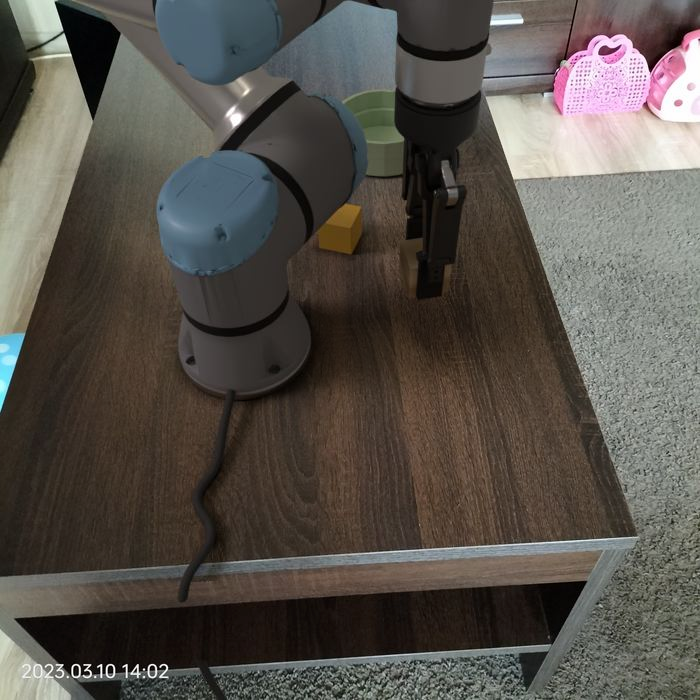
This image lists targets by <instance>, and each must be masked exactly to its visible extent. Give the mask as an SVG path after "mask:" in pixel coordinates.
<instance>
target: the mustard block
mask: <svg viewBox="0 0 700 700" xmlns="http://www.w3.org/2000/svg"><path fill="white" fill-rule="evenodd" d="M362 208H363V207H362V206H360V205H355V204H351V203H346V204H344V205H343V207H341V208H340V209H338V210H337V211H336V212H335V213H334V214H333V215H332V216H331V217H330V218H329V220H328V221H327V222H326V223H325V224H324V225H323V226H322V227H321V228H320V229H319V230H318V231H317V233H318V235H317V236H318V246H319V249H323V250H328V251H332V252H337V253H342V254H346V255H350V256H351V255H353V253H354V250H355V249H356V247H357V245H358V242H359V240H360V238H361V237H362V235H363V209H362Z"/></svg>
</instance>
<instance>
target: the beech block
mask: <svg viewBox="0 0 700 700" xmlns="http://www.w3.org/2000/svg"><path fill="white" fill-rule="evenodd" d="M421 250H423V238H416V239H410V240H406V239H405V240H400V241H399V264H398V272H399V275H400V278H401V281H402V283H403V286H404V289H405V292H406V295H407V298H408V299H413V298H417V297H416V288H417V275H418V261H417V259H416V252H419V251H421ZM451 270H452V264H450V265H445V271H444V280H443V289H442V294H445V293H448V292H449V288H450V280H451V278H450V277H451V272H452V271H451Z"/></svg>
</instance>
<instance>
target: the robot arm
mask: <svg viewBox="0 0 700 700" xmlns="http://www.w3.org/2000/svg"><path fill="white" fill-rule="evenodd" d="M71 1H72V2H74V3H77V4H80V5H82V6H85V7H88V8H91V9H93V10H96V11H99V12H101V14H103V15H104V17H105V18H106V19H107V20H108V21H109V22H110V23H111V24H112V25H113V26H114V27H115V28H116V29H117V31H118V32H120V34H121V35H122V36H123V37H124V38H125V39H126V40H127V41H128V43H130V44H131V45H132V47H133V48H134V49H135V50H136V51H137V52H138V53H139V54H140V55H141V57H142V58H143V59H144V60H145V61H146V62H147V63H148V64H149V65H150V66H151V67H152V68H153V70H155V71H156V73H157V74H158V75H160V77H161V78H162V79H163V80H164V81H165V83H167V85H169V86H170V87H171V89H172V90H173V91H174V92H175V93H176V94H177V95H178V96H179V97H180V98H181V99H182V100H183V101H184V103H185V104H186V105H187V106H188V107H189V108H190V109H191V110H192V111H193V112H194V113H195V114H196V115H197V117H198V118H199V119H200V120H201V121H202V122H203V123H204V124H205V125H206V126H207V127H208V129H210V130H211V132H212V134H213V139H214V145H213V146H214V147H213V148H214V149H213V151H212V152H211V154H210V156H209V157H204V156H203V155H199V156H196V157H194V158H192V159H190V160H189V161H186V162H184V164H182V165H181V166H179V167H178V168H177V169H175V171H173V173H172V174H170V176H168V178H167V179H166V180H165V182H164V184H163V186H162V187H161V190H160V191H159V194H158V197H157V201H156V219H157V223H158V229H159V232H158V233H159V240H160V244H161V245H160V246H161V248H162V251H163V253H164V255H165V256H166V258H167V261H168V264H169V267H170V271H171V275H172V278H173V281H174V285H175V288H176V292H177V296H178V298H179V303H180V305H181V309H182V315H181V321H180V328H179V334H178V340H177V348H178V349H177V350H178V357H179V360H180V363H181V366H182V369H183V372H184V374H185V376H186V377H187V379H188V380H189V381H190V382H191V384H192V385H194V386H195V387H196V388H198V389H199V390H200V391H202V392H204V393H206V394H207V395H210V396H212V397H215V398H220V399H224V404H223V408H222V411H221V416H220V422H219V426H218V431H217V438H216V442H215V443H216V444H215V449H214V452H213V453H214V454H213V458H212V460H211V463H210V466H209V468H208V470H207V472H206V473H205V474H204V475H203V476H202V477H201V479H200V480H199V481H198V483H197V484H196V486H195V488H194V489H193V493H192V496H191V497H192V499H191V500H192V501H191V503H192V506H193V511H194V512H195V513H196V515H197V516H198V518H199V519H200V520H201V522H202V523H203V525H204V527H205V539H204V542H203V545H202V546H201V548H200V550H198V552H197V553H196V555H195V556H194V558H193V559H191V561H190V562H189V564H188V566H187V568H186V569H185V571H184V573H183V574H182V575H183V576H182V578H181V579H180V583H179V588H178V594H177V601H178V603H181V604H183V603H185V602H186V601H188V598H189V591H190V586H191V584H192V580H193V579H194V576H195V574H196V573H197V572H198V569H199V568H200V567H201V565H202V564H203V563H204V562H205V560H206V559H207V558H208V556H209V555H210V553H211V551H212V549H213V547H214V544H215V541H216V537H217V529H216V528H217V527H216V524H215V521H214V520H213V517H211V515H210V514H209V512H208V511H207V509H206V508H205V506H204V504H203V494H204V492H205V489H206V488H207V487H208V486H209V484H210V483H211V482H212V480H213V479H214V478H215V476H216V475H217V473H218V472H219V469H220V467H221V464H222V461H223V457H224V452H225V448H226V442H227V434H228V429H229V424H230V419H231V415H232V411H233V405H234V401H245V400H247V401H248V400H253V399H259V398H264V397H266V396H269V395H271V394H274V393H276V392H278V391H280V390H282V389H283V388H285V387H287V386H289V384H291V383H292V382H293V381H294V380H296V378H297V377H298V376H299V375H300V374H301V373H302V372H303V370H304V369H305V367H306V365H307V363H308V361H309V359H310V355H311V351H312V336H311V335H312V334H311V328H310V326H309V323H308V319H307V318H306V315H305V314H304V312H303V310H302V309H301V307H300V306H299V304H298V303H297V301H296V299H295V298H294V296H293V295H292V293H291V292H290V288H289V287H290V286H289V280H288V279H289V278H288V271H287V266H288V264H289V261H290V260H291V259H292V258H293V257H294V256H295V255H296V254H297V252H298V251H300V249H302V247H303V246H304V245H305V244H306V243H308V242H309V240H310V239H311V238H312V237H313V236H314V235H315V234H317V233H318V230H319V229H320V228H321V227H322V226H323V225H324V224H325V223H326V222H327V221H328V220H329V218H330V217H331V216H332V215H333V214H334V213H335V212H336V211H337V210H338V209H340V208H341V207H343V205H344V204H348V203H349V202H350V200H351V199H352V197H353V194H354V192H356V190H357V189H358V188H359V187H360V186H361V184H362V183H363V181H364V179H365V177H366V176H367V175H366V172H367V168H368V158H367V153H368V146H367V142H366V138H365V135H364V132H363V130H362V128H361V126H360V124H359V122H358V120H357V119H356V117H355V116H354V114H353V113H352V112H351V111H350V110H349V108H348V107H347V106H346V105H344V104H343V103H342V101H341V100H340V99H338V98H337V97H335V96H333V95H329V96H327V94H325V93H323V92H314V93H313V92H312V93H307V94H306V92H305V91H304V90H303V89H302V88H301V87H300V86H299V85H298V84H297V82H295V80H294V79H293V78H291V77H277V76H272V75H270V73H268V71H266V69H265V68H264V67H263V65H265V64H266V63H268V62H269V61H270V60H271V58H273V56H274V55H276V54H277V53H279V52H280V51H281V50H282V49H283V48H285V47H286V46H287V45H288V44H290V43H291V42H292V41H293V40H295V39H297V37H299V36H300V35H301V34H302V33H303V32H305V31H306V30H308V29H309V28H310V27H311V26H314V25H315V24H316V23H317V22H319V21H320V20H321V19H322V18H324V17H325V16H327V15H328V14H330V13H331V12H332V11H333V10H334V9H336V8H337V7H339V6H341V4H343V3H344V2H354V3H358V4H363V5H366V6H370V7H374V8H377V9H381V10H390V11H393V12H396V27H397V28H396V29H397V30H396V39H395V67H394V82H395V85H396V87H395V89H394V90H395V111H394V123H395V127H396V129H397V131H398V132H399V133H400V134H401V135H402V136H403V137H404V153H403V174H402V180H401V181H402V182H401V193H400V195H401V198H402V201H406V203H405V206H404V207H405V208H404V212H405V214H406V216H407V217H409V218H406V228H405V240H410V239H416V238H423V250H421V251H419V252H416V259H417V261H418V275H417V288H416V297H415V298H416V300H417V301H420V300H427V299H433V298H441V297H442V296H443V293H442V289H443V280H444V271H445V265H450V264H451V265H455V263H456V256H457V250H458V243H459V235H460V227H461V220H462V213H463V207H464V204H465V202H466V199H467V194H468V189H467V187H466V185H465V184H459V185H457V171H458V169H459V167H460V150H459V147H460V146H461V145H462V144H463V143H464V142H466V141H467V140H468V139H470V138H471V137H472V136H474V133H475V132H476V131H477V128H478V123H479V116H480V109H481V102H482V91H481V89H482V87H483V83H484V74H485V67H486V60H487V59H486V58H487V56H489V55H491V54H492V51H493V48H492V46H491V44H490V43H489V38H490V27H491V23H492V15H493V9H494V2H495V0H71ZM195 662H196V664H197V667H198V669H199V672H200V674H201V675H202V677H203V679H204V681H205V682H206V684H207V686H208V687H209V689H210V691H211V692H212V694H213V695H214V697H215V698H216V699H217V700H228V698H227V696H226V694H225V693H224V692H223V690H222V689H221V687H220V685H219V683H218V682H217V680H216V679H215V676H214V675H213V673H212V670H211V669H210V666H209V664H208V662H207V660H202V659H195Z"/></svg>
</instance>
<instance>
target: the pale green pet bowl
mask: <svg viewBox="0 0 700 700" xmlns="http://www.w3.org/2000/svg"><path fill="white" fill-rule="evenodd" d="M341 102H342V103H343V104H344V105H346V106H347V107H348V108H349V110H350V111H351V112H352V113H353V114H354V116H355V117H356V119H357V120H358V122H359V124H360V126H361V128H362V130H363V132H364V135H365V138H366V142H367V146H368V153H367V158H368V168H367V172H366V175H365V176H371V177H373V176H374V177H392V176H400V175H403V153H404V137H403V136H402V135H401V134H400V133H399V132H398V131H397V129H396V127H395V123H394V111H395V89H389V88H388V89H387V88H379V89H378V88H377V89H370V90H365V91H361V92H358V93H354V94H352V95H350V96H348V97H346V98H345V99H343V100H342V101H341Z"/></svg>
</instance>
